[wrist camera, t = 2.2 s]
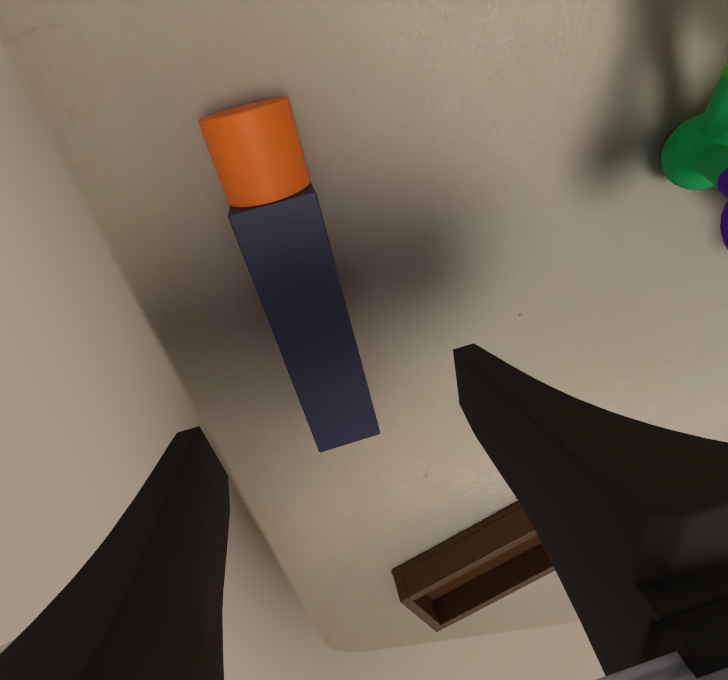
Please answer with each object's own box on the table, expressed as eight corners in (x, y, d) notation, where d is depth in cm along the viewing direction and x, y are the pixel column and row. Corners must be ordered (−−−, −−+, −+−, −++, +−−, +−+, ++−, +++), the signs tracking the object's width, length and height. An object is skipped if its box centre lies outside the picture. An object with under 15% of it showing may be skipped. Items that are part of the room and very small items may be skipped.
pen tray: (426, 602, 31) (436, 632, 29) (391, 570, 28) (400, 602, 26) (639, 489, 29) (662, 514, 28) (624, 443, 26) (649, 468, 25)
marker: (367, 395, 20) (380, 434, 18) (312, 412, 20) (319, 453, 18) (285, 93, 14) (290, 98, 11) (202, 115, 13) (191, 124, 11)
